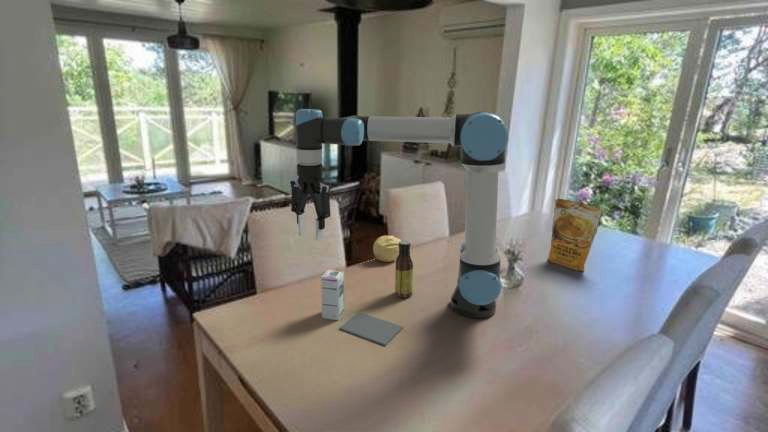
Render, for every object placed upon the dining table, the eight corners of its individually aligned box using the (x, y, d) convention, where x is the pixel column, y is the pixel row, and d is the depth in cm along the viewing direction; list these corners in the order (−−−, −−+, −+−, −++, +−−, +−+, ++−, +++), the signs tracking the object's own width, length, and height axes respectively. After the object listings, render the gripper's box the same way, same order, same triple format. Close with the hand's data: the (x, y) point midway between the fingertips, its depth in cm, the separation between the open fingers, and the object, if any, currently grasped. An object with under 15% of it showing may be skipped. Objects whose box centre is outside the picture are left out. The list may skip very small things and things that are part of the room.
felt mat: (403, 328, 124) (403, 326, 124) (385, 346, 115) (385, 344, 115) (359, 313, 132) (359, 311, 132) (339, 329, 123) (339, 327, 122)
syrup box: (339, 320, 127) (339, 278, 123) (321, 318, 128) (320, 276, 124) (344, 311, 132) (344, 270, 128) (327, 309, 133) (326, 268, 129)
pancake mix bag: (549, 256, 186) (559, 196, 178) (591, 270, 172) (604, 206, 164) (541, 259, 182) (551, 198, 174) (584, 274, 168) (597, 209, 160)
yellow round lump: (379, 266, 168) (380, 241, 165) (369, 255, 179) (369, 232, 176) (404, 262, 173) (405, 238, 170) (392, 252, 183) (393, 229, 180)
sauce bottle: (414, 292, 147) (418, 241, 141) (408, 300, 141) (411, 246, 136) (398, 288, 149) (400, 238, 144) (391, 296, 144) (393, 243, 138)
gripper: (343, 165, 119) (342, 239, 126) (293, 158, 128) (295, 227, 135) (327, 168, 113) (328, 246, 119) (276, 161, 122) (279, 233, 128)
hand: (310, 236), depth 127 cm, fingers open, 6 cm apart
